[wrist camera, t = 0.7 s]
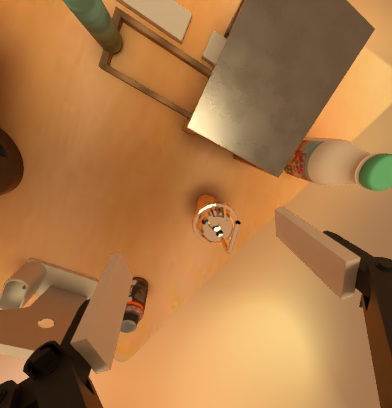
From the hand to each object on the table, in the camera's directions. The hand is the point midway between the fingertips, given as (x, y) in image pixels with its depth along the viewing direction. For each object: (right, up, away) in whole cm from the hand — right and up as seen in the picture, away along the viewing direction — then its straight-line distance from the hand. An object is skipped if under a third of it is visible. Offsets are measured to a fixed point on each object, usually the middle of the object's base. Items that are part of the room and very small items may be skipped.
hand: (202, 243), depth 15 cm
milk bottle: (+21, +14, +26) cm, 36 cm away
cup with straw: (+2, +4, +28) cm, 28 cm away
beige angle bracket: (-35, -17, +31) cm, 50 cm away
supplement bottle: (-16, -19, +34) cm, 42 cm away
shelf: (+7, +23, +20) cm, 32 cm away
